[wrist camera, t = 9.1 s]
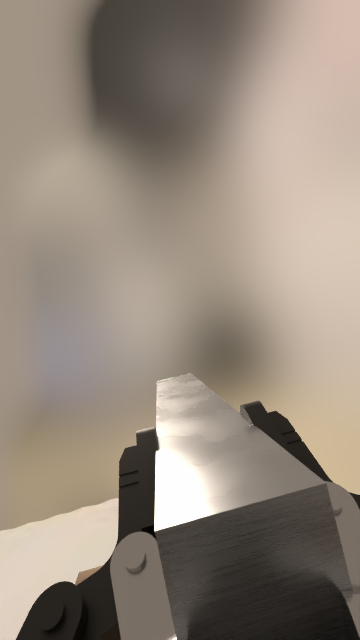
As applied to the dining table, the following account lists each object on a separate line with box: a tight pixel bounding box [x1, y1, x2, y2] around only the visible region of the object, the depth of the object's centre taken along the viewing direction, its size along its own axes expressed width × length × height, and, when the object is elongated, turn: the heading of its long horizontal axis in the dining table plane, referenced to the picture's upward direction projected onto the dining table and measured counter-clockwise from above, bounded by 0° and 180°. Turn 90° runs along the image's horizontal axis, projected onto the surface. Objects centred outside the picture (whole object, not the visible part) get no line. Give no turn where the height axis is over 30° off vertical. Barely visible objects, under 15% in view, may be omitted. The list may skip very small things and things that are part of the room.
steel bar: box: [155, 374, 352, 640], centre depth 17 cm, size 24×4×4 cm, turn 5°
